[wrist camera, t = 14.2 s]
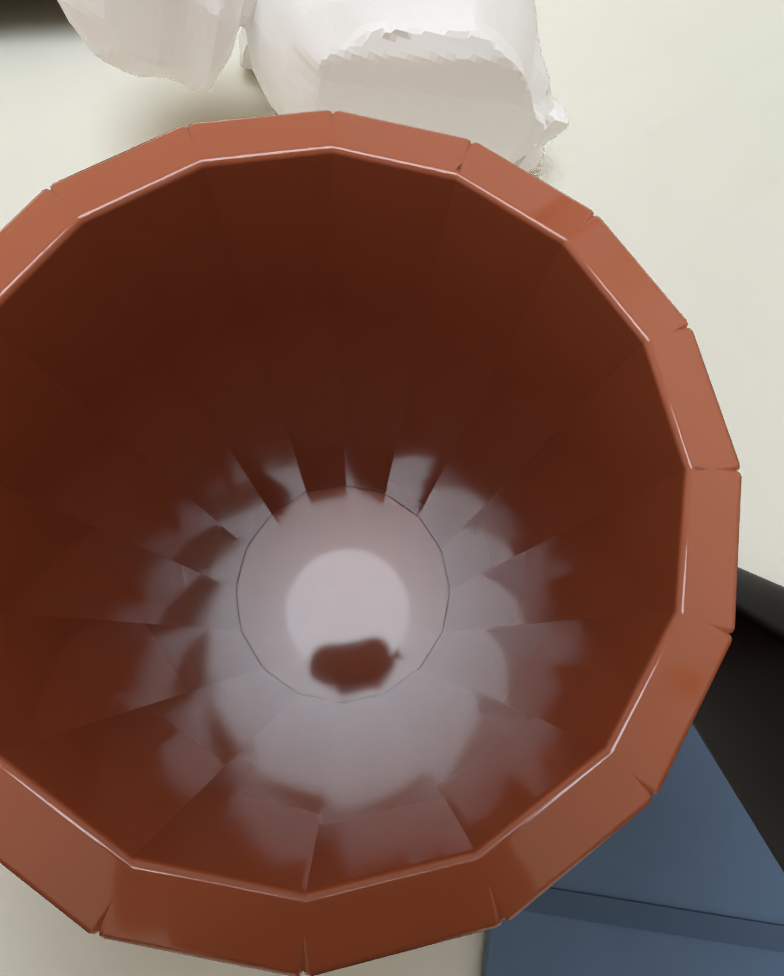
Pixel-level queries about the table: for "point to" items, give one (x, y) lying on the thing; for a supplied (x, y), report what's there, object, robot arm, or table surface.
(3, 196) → the table surface
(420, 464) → the pencil cup
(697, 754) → the napkin
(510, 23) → the white lumpy rounded figurine
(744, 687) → the robot arm
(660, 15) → the table surface
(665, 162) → the table surface
